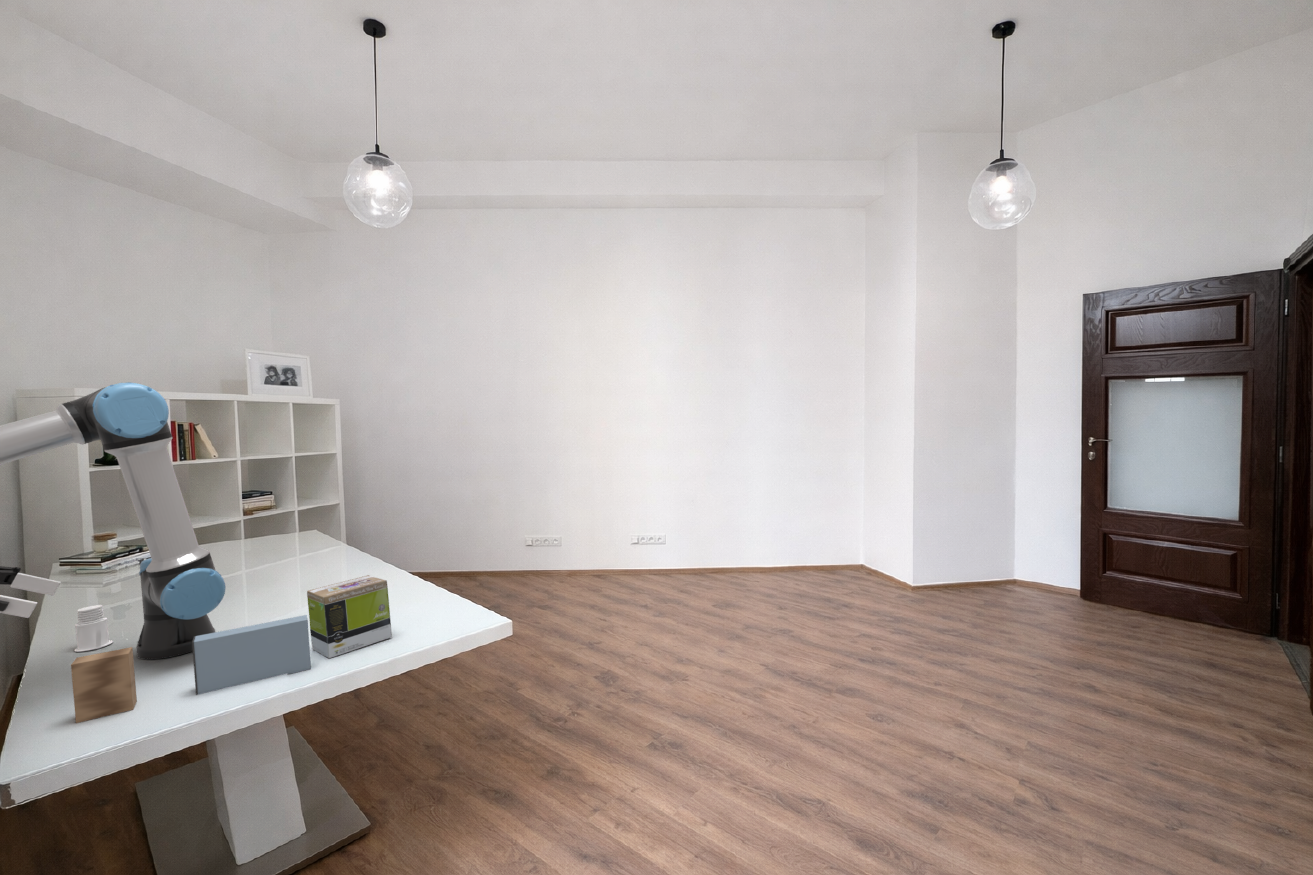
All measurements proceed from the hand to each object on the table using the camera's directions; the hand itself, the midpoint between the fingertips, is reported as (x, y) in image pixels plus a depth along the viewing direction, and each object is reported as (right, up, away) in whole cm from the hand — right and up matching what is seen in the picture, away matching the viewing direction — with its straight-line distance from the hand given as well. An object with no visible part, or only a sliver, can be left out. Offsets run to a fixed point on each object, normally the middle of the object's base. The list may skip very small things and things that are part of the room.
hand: (45, 598), depth 113 cm
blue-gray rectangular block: (+31, -21, +13) cm, 40 cm away
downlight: (-25, -22, +36) cm, 48 cm away
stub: (+12, -22, 0) cm, 25 cm away
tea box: (+43, -20, +31) cm, 56 cm away
